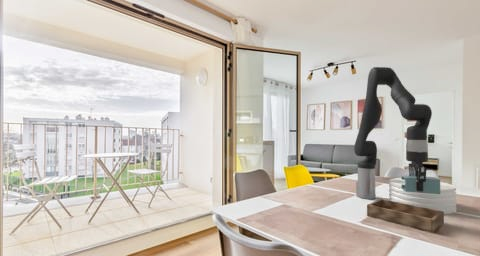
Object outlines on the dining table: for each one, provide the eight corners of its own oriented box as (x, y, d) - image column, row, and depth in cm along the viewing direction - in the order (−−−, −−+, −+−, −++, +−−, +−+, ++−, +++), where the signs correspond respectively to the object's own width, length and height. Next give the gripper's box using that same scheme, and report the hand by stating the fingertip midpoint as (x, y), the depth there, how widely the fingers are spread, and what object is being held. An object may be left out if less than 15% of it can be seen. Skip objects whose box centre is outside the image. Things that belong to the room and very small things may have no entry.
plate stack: (471, 215, 109) (471, 190, 109) (403, 211, 114) (403, 187, 114) (434, 199, 136) (434, 179, 136) (381, 196, 142) (381, 177, 142)
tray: (367, 215, 107) (367, 204, 107) (381, 208, 117) (380, 198, 117) (434, 233, 89) (433, 220, 89) (443, 223, 99) (443, 211, 99)
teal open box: (434, 177, 102) (401, 175, 106) (440, 179, 96) (405, 177, 101) (434, 191, 102) (401, 188, 106) (440, 194, 96) (405, 191, 100)
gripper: (401, 149, 110) (402, 185, 110) (411, 151, 96) (412, 192, 96) (421, 149, 107) (421, 186, 107) (434, 151, 94) (434, 194, 93)
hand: (417, 189), depth 102 cm, fingers closed on teal open box, 6 cm apart
